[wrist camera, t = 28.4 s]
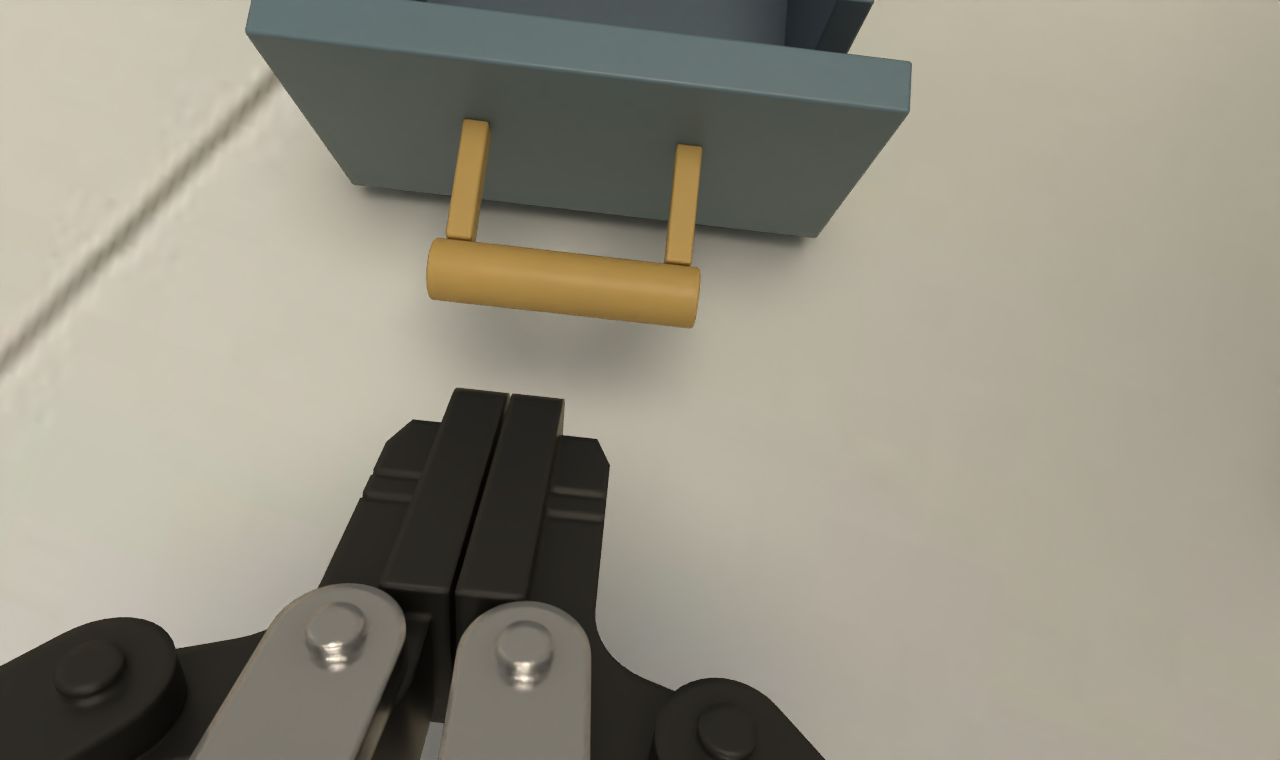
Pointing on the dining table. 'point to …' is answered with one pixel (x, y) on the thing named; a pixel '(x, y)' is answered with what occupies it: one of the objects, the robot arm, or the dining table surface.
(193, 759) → the robot arm
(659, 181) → the drawer
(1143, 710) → the dining table surface
